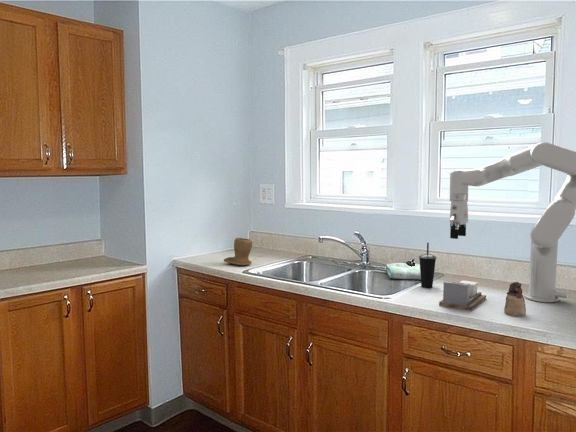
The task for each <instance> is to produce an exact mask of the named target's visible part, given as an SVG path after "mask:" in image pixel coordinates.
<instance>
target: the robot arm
mask: <svg viewBox="0 0 576 432" xmlns="http://www.w3.org/2000/svg"><path fill="white" fill-rule="evenodd" d="M541 166H543V167H547V168H549V169H553V170H555V171H558V172H560V173H564V174H566V179H565V181H564V182H563V184H562V186H561V187H560V190H559V191H558V193H557V194H556V195H555V197H553V199H552V200H551V201H550V203H549V204H548V205H547V208H545V209H544V212H543V213H542V215H541V216H540V218H539V219H538V220H537V222H536V223H534V225H533V227H532V228H531V231H530V256H529V257H530V258H529V280H528V291H527V292H524V295H523V296H524V299H527V300H530V301H534V302H538V303H557V302H559V301H560V298H563V299H568V298H569V297H568V296H569V295H568V293H567V292H564V291H559V290H558V288H557V287H556V283H557V281H556V280H557V267H558V266H557V263H558V250H559V249H558V248H559V247H558V245H559V239H560V238H561V237H562V235H563V234H564V233H565V231H566V230H567V229H568V227H569V225H570V224H571V222H572V221H573V220H574V217H575V215H576V151H574V150H571V149H568V148H565V147H561V146H558V145H555V144H552V143H550V142H548V141H547V142H546V141H542V142H538V143H536V144H535V145H532V146H530V147H527V148H525V149H522V150H518V151H517V152H514V153H511V154H508V155H506V156H504V157H503V158H501V159H500V160H497V161H495V162H493V163H490V164H488V165H487V164H486V165H484V166H482V167H479V168H472V169H465V168H460V169H459V168H458V169H457V168H454V169H452V170H450V173H449V202H450V209H449V212H450V213H449V222H450V225H449V226H450V227H449V229H450V231H449V232H450V234H449V235H450V236H449V237H450V239H456V240H457V239H459V237H466V236H467V233H466V232H467V224H468V223H469V208H468V202H469V187H481V186H484V185H487V184H491V183H493V182H496V181H499V180H501V179H504V178H508V177H513V176H516V175H519V174H522V173H524V172H527V171H530V170H533V169H535V168H539V167H541Z"/></svg>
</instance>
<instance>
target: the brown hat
mask: <svg viewBox="0 0 576 432" xmlns="http://www.w3.org/2000/svg"><path fill="white" fill-rule="evenodd" d="M233 242H234V243H233V249H234V256H230V257H226V258H224V259H223V262H224V263H227V264H231V265H236V266H249V265H252V263H253V262H252V261H251V260H250V259H249V256H250V253H251V251H252V248H253V241H252V239H249V238H245V237H244V238H243V237H236V238H234V241H233Z"/></svg>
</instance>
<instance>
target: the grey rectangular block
mask: <svg viewBox="0 0 576 432" xmlns="http://www.w3.org/2000/svg"><path fill="white" fill-rule="evenodd" d="M459 282H460V281H459ZM459 282H457V281H451V280H450V281H449V280H445V281H443V288H442V291H443V293H442V294H443V295H442V300H443V303H449V304H455V305H461V306H468V305H469V297H470V284H466V283H459Z"/></svg>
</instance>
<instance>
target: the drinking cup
mask: <svg viewBox="0 0 576 432" xmlns="http://www.w3.org/2000/svg"><path fill="white" fill-rule="evenodd" d="M429 244H430V243H429V242H426V253H423V254H421V255H419V256H418V258H419V265H420V274H421V280H420V286H421V288H424V289H430V288H433V287H434V277H435V269H436V261H437V256H435V255H433V254H432V253H429V250H430V246H429Z"/></svg>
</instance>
